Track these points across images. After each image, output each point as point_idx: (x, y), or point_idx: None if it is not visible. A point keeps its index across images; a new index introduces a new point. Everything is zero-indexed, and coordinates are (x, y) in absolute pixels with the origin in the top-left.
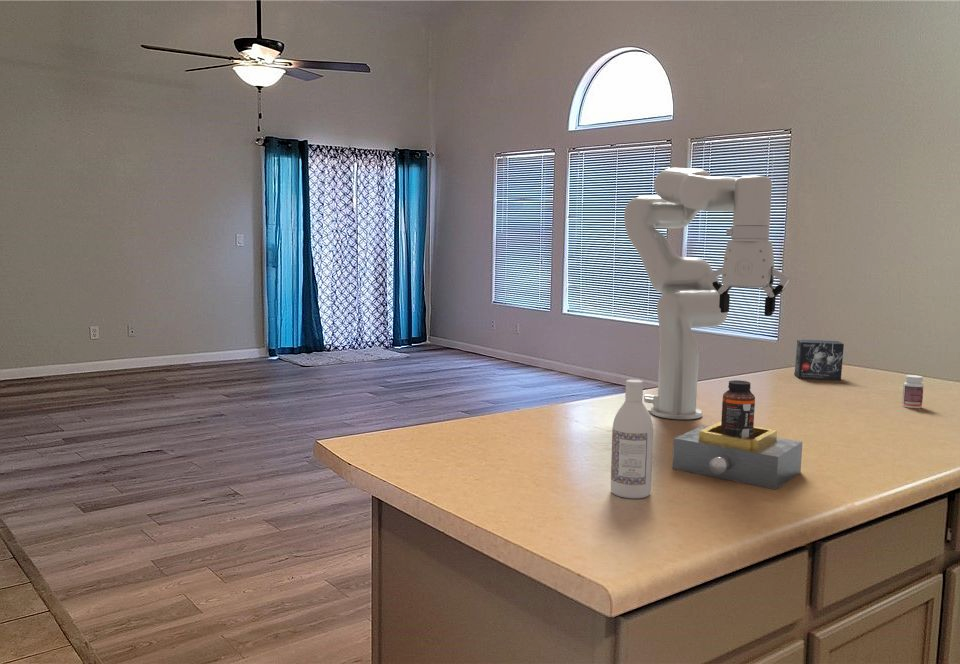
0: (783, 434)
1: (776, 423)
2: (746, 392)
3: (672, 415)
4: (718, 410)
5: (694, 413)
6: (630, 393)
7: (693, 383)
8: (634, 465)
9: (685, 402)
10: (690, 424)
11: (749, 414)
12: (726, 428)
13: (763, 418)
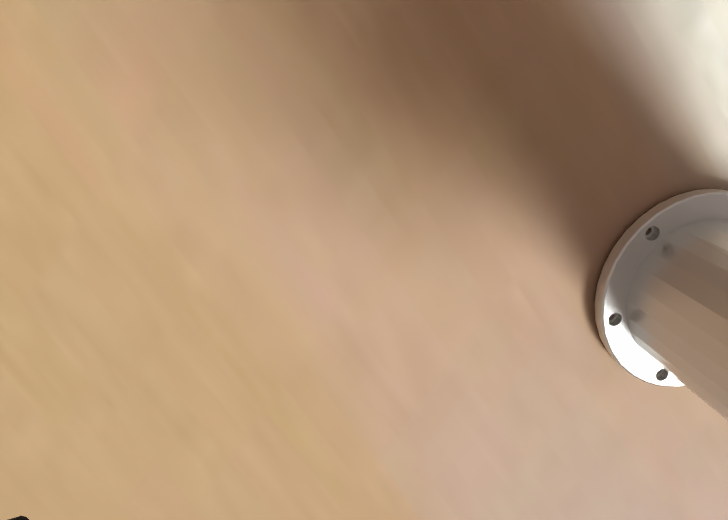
0: (239, 377)
1: (361, 491)
2: None
3: (666, 208)
4: (612, 474)
5: (620, 307)
6: None
7: (709, 359)
8: None
9: (670, 283)
10: (566, 202)
11: None
12: None
13: (436, 512)
